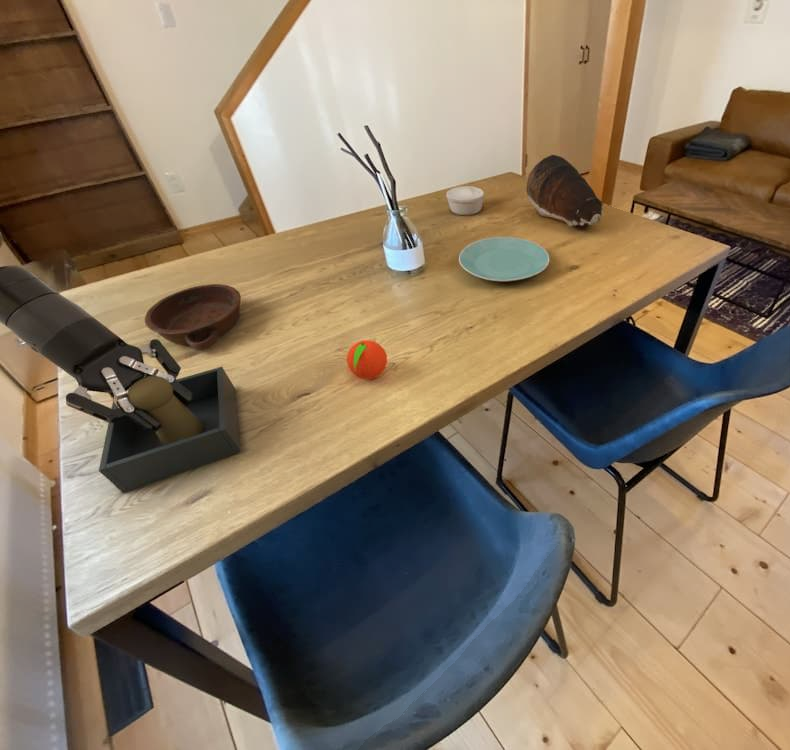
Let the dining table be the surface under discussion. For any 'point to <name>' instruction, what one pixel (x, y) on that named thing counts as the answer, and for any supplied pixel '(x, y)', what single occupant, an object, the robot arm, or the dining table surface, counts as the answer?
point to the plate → (504, 259)
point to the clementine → (366, 359)
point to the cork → (164, 409)
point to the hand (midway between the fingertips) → (174, 414)
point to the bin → (156, 462)
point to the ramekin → (465, 200)
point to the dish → (195, 315)
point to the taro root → (562, 192)
